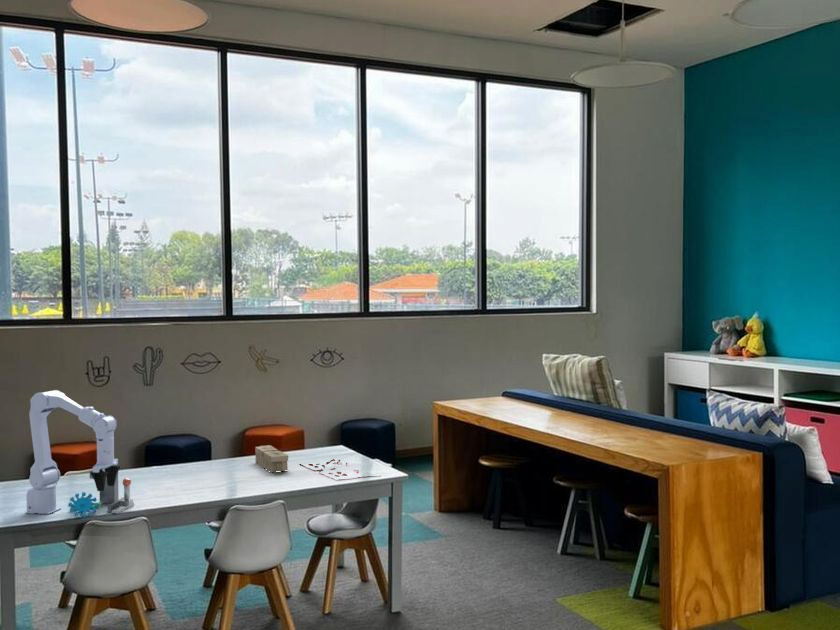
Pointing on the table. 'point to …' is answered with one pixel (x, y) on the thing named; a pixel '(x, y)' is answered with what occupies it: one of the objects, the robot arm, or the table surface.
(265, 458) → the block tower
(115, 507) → the press frame
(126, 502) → the lever handle
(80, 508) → the blue virus model
